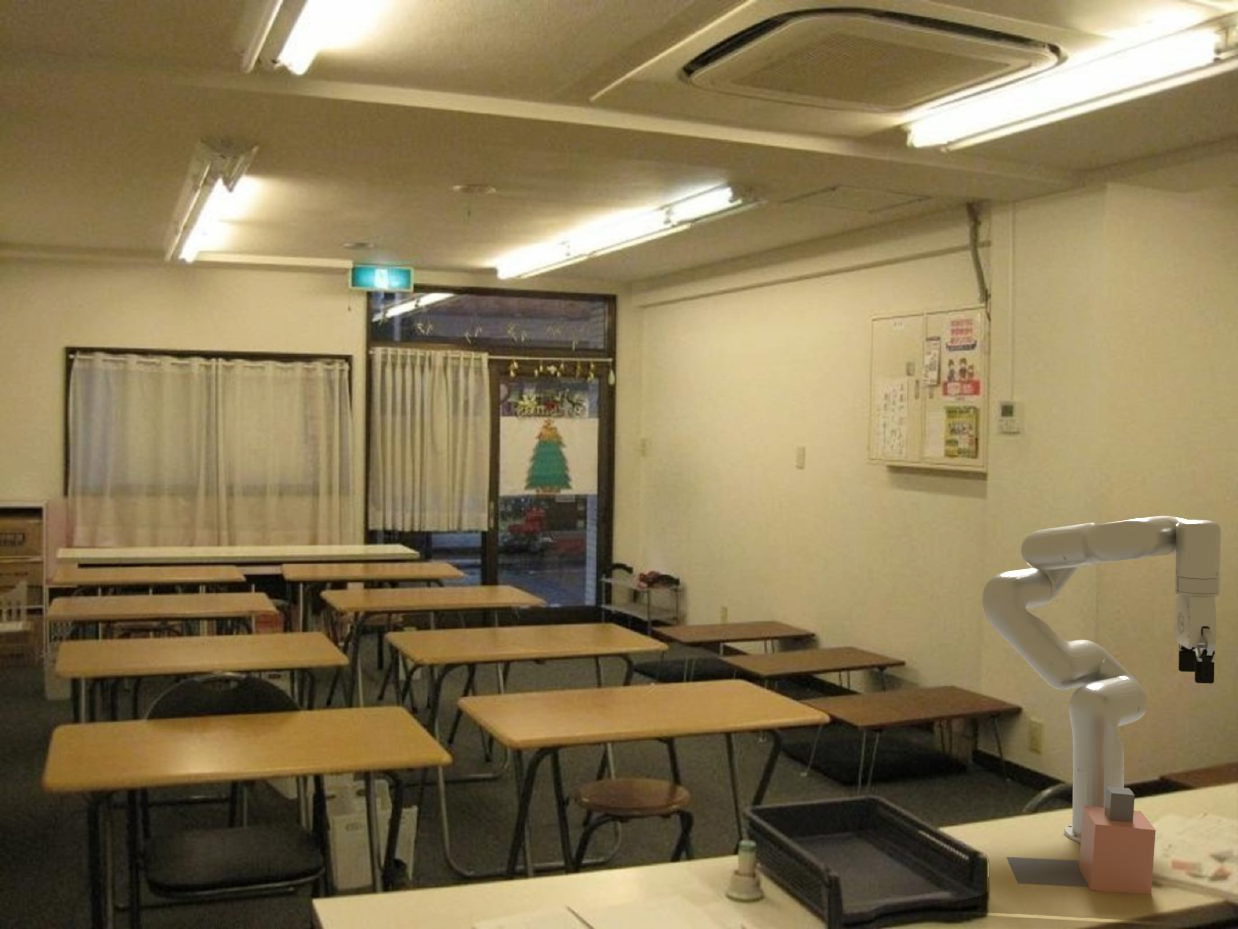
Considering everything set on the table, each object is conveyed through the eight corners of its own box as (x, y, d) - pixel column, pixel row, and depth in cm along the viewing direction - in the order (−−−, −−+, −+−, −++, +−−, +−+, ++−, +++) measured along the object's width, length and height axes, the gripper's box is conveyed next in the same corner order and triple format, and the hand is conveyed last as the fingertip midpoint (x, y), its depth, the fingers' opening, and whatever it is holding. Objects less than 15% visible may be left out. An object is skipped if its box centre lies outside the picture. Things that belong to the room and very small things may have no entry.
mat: (1006, 859, 234) (1006, 857, 234) (1077, 863, 232) (1077, 860, 232) (1018, 885, 221) (1018, 883, 221) (1092, 889, 219) (1092, 887, 219)
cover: (1078, 868, 228) (1085, 779, 227) (1136, 874, 226) (1142, 784, 225) (1090, 890, 218) (1097, 796, 217) (1150, 896, 216) (1157, 802, 215)
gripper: (1162, 579, 236) (1161, 666, 237) (1190, 593, 219) (1188, 687, 220) (1203, 580, 235) (1202, 667, 236) (1234, 593, 218) (1233, 688, 219)
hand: (1195, 677), depth 228 cm, fingers open, 9 cm apart
